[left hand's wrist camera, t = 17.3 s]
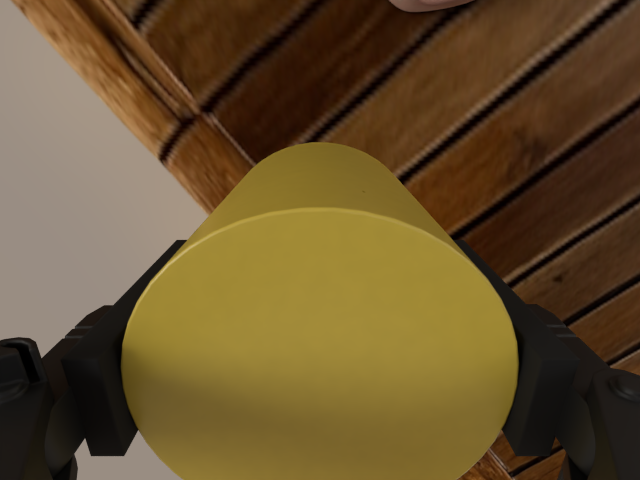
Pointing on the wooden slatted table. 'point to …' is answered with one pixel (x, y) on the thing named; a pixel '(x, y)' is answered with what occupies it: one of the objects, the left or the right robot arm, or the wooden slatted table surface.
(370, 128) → the wooden slatted table surface
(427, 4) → the anatomical model
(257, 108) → the wooden slatted table surface
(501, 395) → the canister
